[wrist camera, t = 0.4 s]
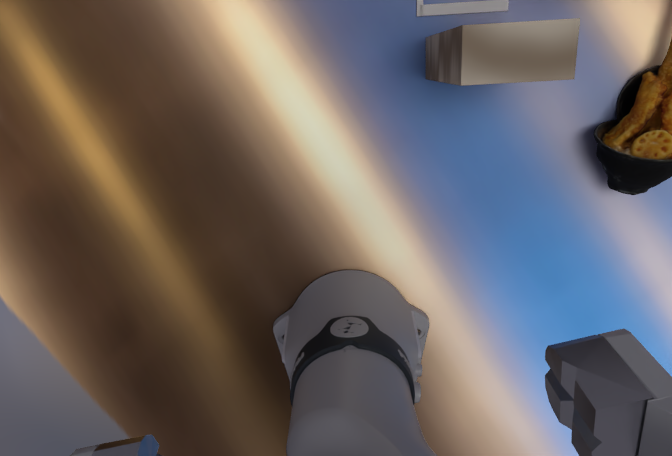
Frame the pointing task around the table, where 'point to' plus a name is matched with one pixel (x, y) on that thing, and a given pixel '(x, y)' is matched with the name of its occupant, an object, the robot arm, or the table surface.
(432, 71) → the ash tower
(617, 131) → the fried shrimp in bowl
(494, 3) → the slot outline
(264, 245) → the table surface
